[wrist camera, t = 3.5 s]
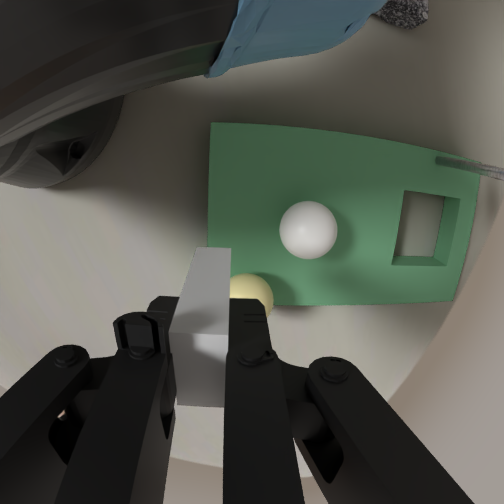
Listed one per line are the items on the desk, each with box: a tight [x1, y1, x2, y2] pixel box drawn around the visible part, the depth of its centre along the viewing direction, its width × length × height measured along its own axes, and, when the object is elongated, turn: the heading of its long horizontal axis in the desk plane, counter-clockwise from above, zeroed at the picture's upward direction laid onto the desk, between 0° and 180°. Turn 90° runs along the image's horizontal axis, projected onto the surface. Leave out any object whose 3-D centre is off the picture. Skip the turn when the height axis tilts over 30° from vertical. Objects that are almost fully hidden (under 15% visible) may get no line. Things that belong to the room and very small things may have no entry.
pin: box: [435, 156, 504, 181], centre depth 16 cm, size 1×4×11 cm, turn 177°
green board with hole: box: [207, 122, 482, 305], centre depth 25 cm, size 24×14×2 cm, turn 87°
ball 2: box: [279, 201, 337, 259], centre depth 21 cm, size 4×4×4 cm
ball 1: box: [230, 273, 274, 317], centre depth 23 cm, size 4×4×4 cm
